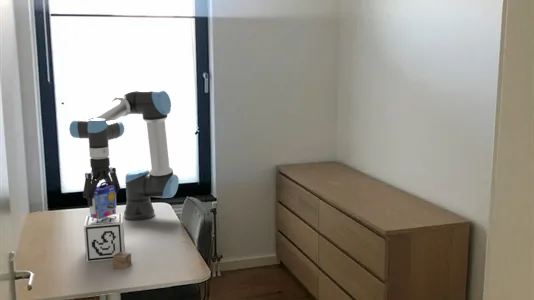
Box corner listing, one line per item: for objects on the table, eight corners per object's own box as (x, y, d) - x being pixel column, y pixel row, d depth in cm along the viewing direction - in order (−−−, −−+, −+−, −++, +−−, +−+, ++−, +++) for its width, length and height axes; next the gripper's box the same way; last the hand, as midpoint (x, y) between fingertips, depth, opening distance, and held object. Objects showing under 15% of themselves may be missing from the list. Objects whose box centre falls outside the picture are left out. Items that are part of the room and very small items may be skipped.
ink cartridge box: (100, 219, 236) (97, 184, 233) (90, 218, 238) (87, 183, 236) (117, 213, 244) (115, 179, 242) (107, 211, 247) (104, 178, 244)
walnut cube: (120, 263, 233) (119, 251, 232) (131, 264, 231) (130, 252, 231) (113, 268, 228) (112, 256, 227) (125, 269, 227) (124, 257, 226)
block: (86, 262, 235) (83, 226, 233) (88, 249, 250) (86, 215, 247) (124, 258, 239) (122, 222, 236) (124, 246, 253) (122, 212, 250)
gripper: (82, 163, 226) (86, 218, 230) (127, 153, 244) (130, 205, 248) (70, 161, 230) (74, 215, 234) (115, 152, 248) (118, 202, 252)
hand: (103, 210), depth 241 cm, fingers closed on ink cartridge box, 10 cm apart
